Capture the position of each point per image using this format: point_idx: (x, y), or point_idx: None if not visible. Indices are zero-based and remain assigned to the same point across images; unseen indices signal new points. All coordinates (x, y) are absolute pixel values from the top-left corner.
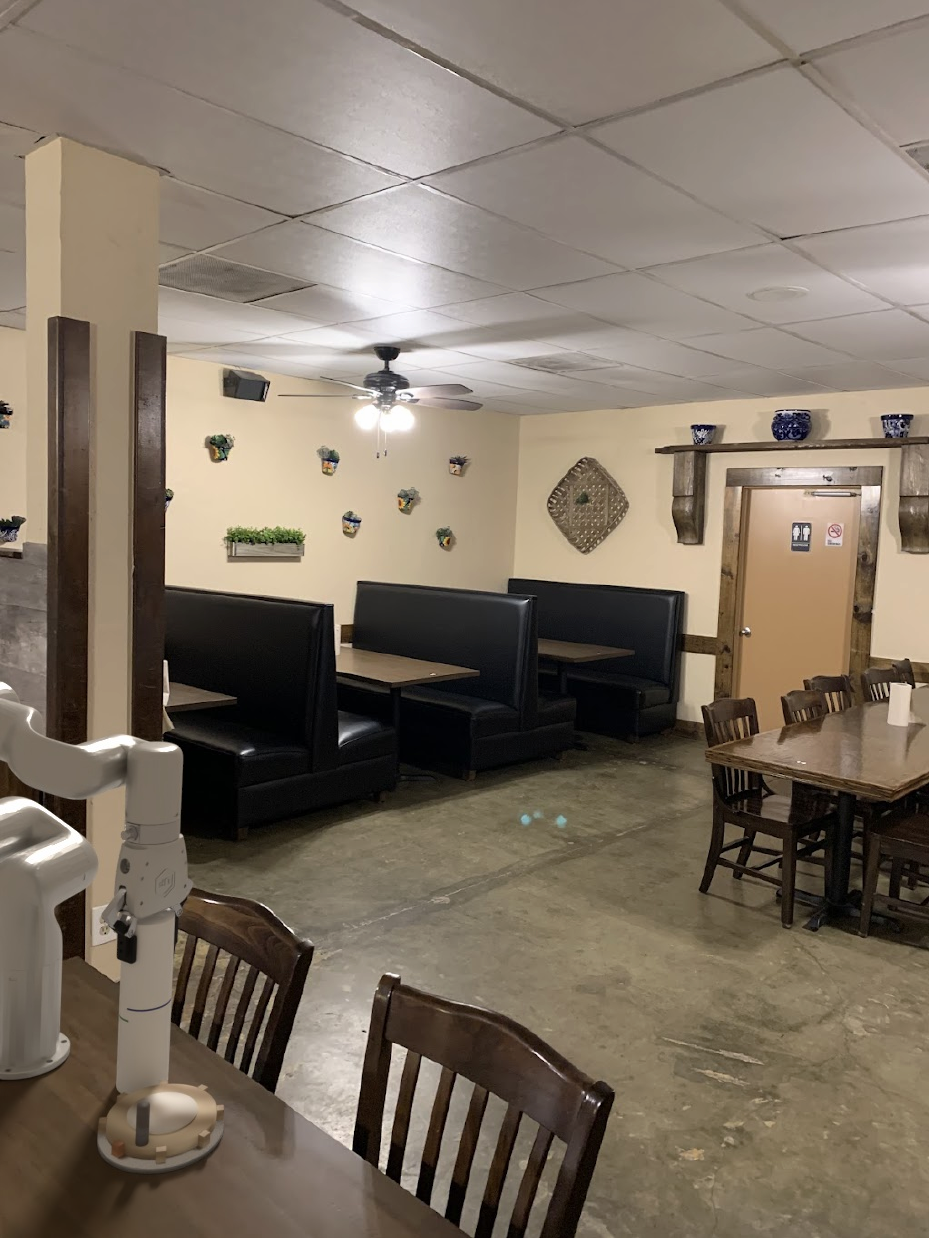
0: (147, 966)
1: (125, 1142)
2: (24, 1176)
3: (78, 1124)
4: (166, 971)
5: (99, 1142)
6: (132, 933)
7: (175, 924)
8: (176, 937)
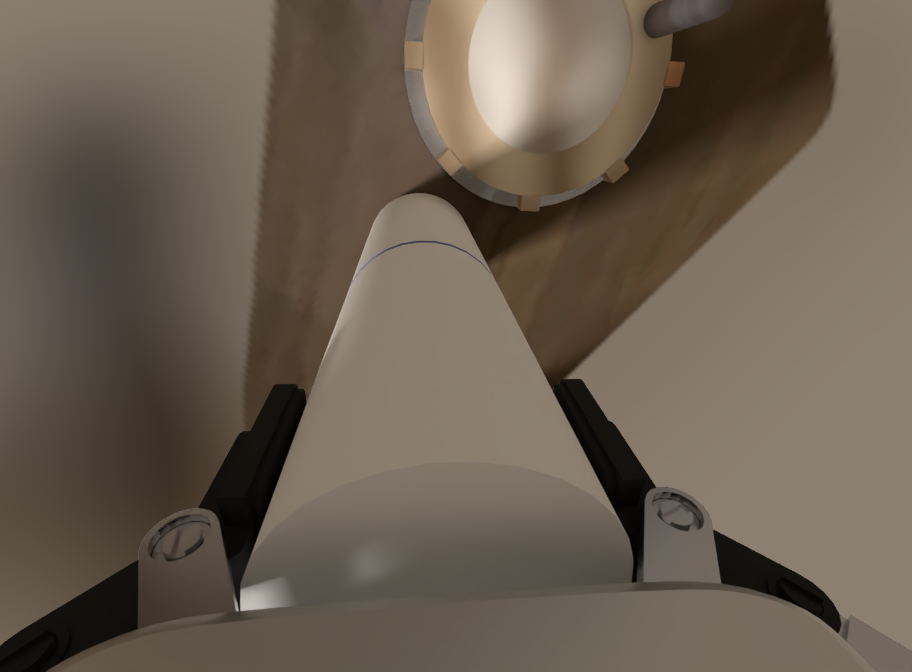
0: (516, 334)
1: (668, 59)
2: (721, 204)
3: (576, 241)
4: (423, 283)
5: (631, 148)
6: (647, 505)
7: (260, 463)
8: (276, 401)
